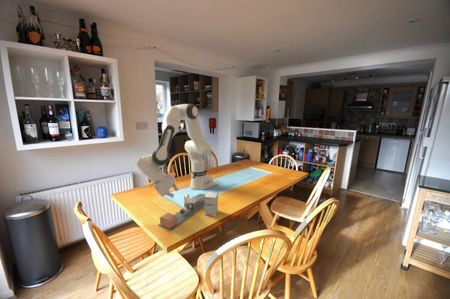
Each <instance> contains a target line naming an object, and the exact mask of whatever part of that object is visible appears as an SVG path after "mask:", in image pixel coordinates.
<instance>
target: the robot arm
mask: <svg viewBox="0 0 450 299" xmlns="http://www.w3.org/2000/svg"><path fill="white" fill-rule="evenodd" d="M182 121H184V122H185V128H186V133H187V136H188V138H190V140H187V141H186V142H185V144H184V150H185V151H186V152H187V154H188V157H189V159H190V166H191V170H190V177H191V178H190V184H189V188H191V189H193V190H207V189H209V188H211V187H214V186H215V185H216V181H214V179H213V177H212V176H211V175H210V174H209V170H208V169H206V168H205V167H206V166H205V165H206V164H205V159H204V158H203V157H202V156H208V155H210V154H211V152H212V145H211V144H210V143H209V142H208V141H207V140H206V139H205V136H204V134H203V131H202V126H201V122H200V118H199V109H198V107H197V105H195V104H193V103H181V104H174V105H171V106H170V107H169V108H168V109H167V110H166V113H165V115H164V116H163V120H162V123H161V131H162V133H161V134H162V135H161V139H160V141H159V144H158V146H157V148H155V149H154V151H153V152H152V154H150V155H149V154H148V155H143V156H141V157H140V159H139V160H138V162H137V164H136V166H137V169H138V170H139V172H141V173H142V174H143V175H144V176H145V177H147V178H148V179H149V180H150V181H151V182H152V184H153V187H154V190H155V191H156V192H157V194H159V195H160V196H161V197H164V196H165V195H166V196H168V197H170V198H171V199H172V198H174V197H175V194H174V193H172V192H170V189H171V188H173V189H174V191H175V192H177V191H178V190H179V188H178V187H177V185H176V181H177V180H176V179H175V177H174V176H173V175H172V174H170V173H169V171H168V170H162V169H161V168H163V167H164V166H166V165H167V164H168V163H169V162H170V159H171V152H170V148H171V144H172V140H173V137H174V136H175V135H176V134H177V133H178V130H179V128H180V125H181V122H182Z"/></svg>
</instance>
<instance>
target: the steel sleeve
mask: <svg viewBox="0 0 450 299" xmlns="http://www.w3.org/2000/svg"><path fill="white" fill-rule="evenodd" d="M205 195H206V194H202V193H198V194H197V195H195V196H193V197H192V198H191V199H190V204H193V207H192V208H191V209H189V210H192V211H194V210H196V209H197V208H198V207H200V206H201V205H203V204H204V203H205Z"/></svg>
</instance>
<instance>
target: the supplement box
mask: <svg viewBox="0 0 450 299" xmlns="http://www.w3.org/2000/svg"><path fill="white" fill-rule="evenodd" d="M204 195H205V207H204V216H212V217H213V216H214V217H216V215H217V214H218V209H219V206H218V204H219V202H218V201H219V200H218V199H219V193H218V192H211V191H210V192H209V191H206V193H205V194H204Z"/></svg>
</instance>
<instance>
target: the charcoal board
mask: <svg viewBox="0 0 450 299" xmlns="http://www.w3.org/2000/svg"><path fill="white" fill-rule="evenodd" d="M202 209H205V203H204V204H203V205H201V206H200V207H198V208H197V209H196V210H194V211H192V210H188V211H186V212H185V213H183V214H181V213H180V210H178V212H176V213H173V214H174V215H176V216H177V222H178V223H177V224H175V225H174V226H173V227H171V228H167V227H165V226H162V225H161V224H160V223H159V224H158V226H159V227H161V228H163V229H166V230H168V231H171V232H172V231H173V230H175V229H176V228H177V227H179V226H180V225H181V224H183V223H185V222H186V221H187V220H188V219H190V218H191V217H192V216H194V215H196V214H197V213H198V212H200V211H201V210H202Z"/></svg>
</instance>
